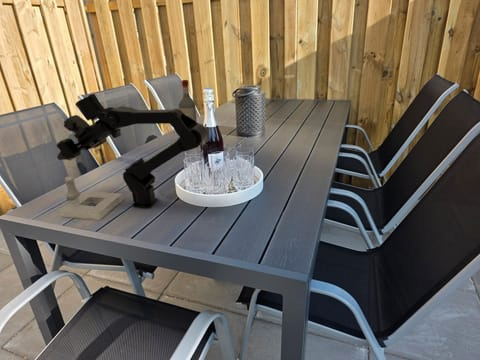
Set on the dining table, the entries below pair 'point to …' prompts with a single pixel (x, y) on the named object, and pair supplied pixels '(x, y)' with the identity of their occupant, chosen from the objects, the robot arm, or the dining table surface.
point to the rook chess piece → (71, 188)
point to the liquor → (187, 102)
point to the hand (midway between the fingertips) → (67, 153)
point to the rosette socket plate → (82, 210)
